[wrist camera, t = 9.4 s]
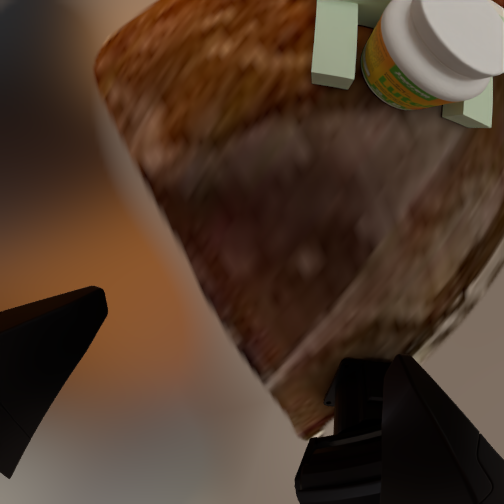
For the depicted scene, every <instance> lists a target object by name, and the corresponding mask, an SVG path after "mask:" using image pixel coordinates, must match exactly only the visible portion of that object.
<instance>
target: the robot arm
mask: <svg viewBox="0 0 504 504" xmlns="http://www.w3.org/2000/svg"><path fill="white" fill-rule="evenodd" d="M107 314H108V307H107V302H106V297H105V292H104V290H103V289H101V288H99V287H96V286H89V287H85V288H82V289H78V290H74V291H71V292H67V293H64V294H60V295H57V296H53V297H50V298H46V299H43V300H39V301H36V302H32V303H29V304H25V305H22V306H18V307H15V308H11V309H8V310H5V311H3V312H2V311H1V312H0V473H2V474H3V475H4V476H6V477H7V478H8V479H10V478H11V476H12V475H13V472H14V471H15V468H16V466H17V465H18V463H19V461H20V459H21V457H22V455H23V453H24V451H25V449H26V447H27V446H28V444H29V442H30V440H31V438H32V436H33V434H34V433H35V431H36V429H37V427H38V426H39V424H40V422H41V421H42V419H43V417H44V416H45V414H46V412H47V411H48V409H49V407H50V406H51V404H52V403H53V401H54V399H55V398H56V396H57V395H58V393H59V391H60V390H61V388H62V387H63V385H64V384H65V382H66V381H67V379H68V378H69V376H70V375H71V373H72V372H73V370H74V369H75V367H76V366H77V364H78V363H79V361H80V360H81V358H82V357H83V355H84V354H85V353H86V351H87V349H88V348H89V346H90V344H91V343H92V341H93V339H94V337H95V336H96V333H97V332H98V330H99V329H100V327H101V325H102V323H103V322H104V320H105V318H106V317H107ZM345 364H348V365H345ZM324 405H327V406H335V409H334V434H333V435H331V436H326V437H320V438H317V437H314V438H310V440H309V443H308V446H307V448H306V451H305V453H304V456H303V459H302V461H301V464H300V466H299V469H298V472H297V474H296V477H295V489H296V495H297V498H298V501H299V502H300V504H504V459H503V458H502V457H501V456H500V455H499V454H498V453H497V452H496V451H495V450H494V449H493V447H492V446H491V445H490V444H489V443H488V442H487V440H486V439H485V438H484V437H483V436H482V434H479V431H478V430H477V428H476V427H475V426H474V425H473V424H472V423H471V422H470V420H469V419H468V418H467V417H466V416H465V415H464V413H463V412H462V411H461V410H460V409H459V408H458V407H457V405H456V404H455V403H454V402H453V401H452V400H451V399H450V398H449V396H448V395H447V394H446V393H445V392H444V391H443V390H442V389H441V388H440V387H439V385H438V384H437V383H436V382H435V381H434V380H433V379H432V378H431V377H430V375H429V374H427V372H426V371H425V370H424V369H423V368H422V367H421V366H420V365H419V364H418V363H417V362H416V361H415V359H414V358H413V357H412V356H410V355H406V354H398V355H396V356H395V358H394V360H393V361H392V363H391V364H389V363H379V362H370V361H362V360H354V359H344V360H342V362H341V364H340V366H339V368H338V370H337V373H336V375H335V377H334V379H333V381H332V384H331V386H330V388H329V390H328V392H327V394H326V396H325V398H324Z"/></svg>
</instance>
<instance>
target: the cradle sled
mask: <svg viewBox="0 0 504 504" xmlns="http://www.w3.org/2000/svg"><path fill="white" fill-rule="evenodd" d="M391 1H392V0H317V11H316V24H315V37H314V48H313V59H312V70H311V75H312V84H318V85H324V86H330V87H336V88H341V89H346V90H348V89H349V87H350V85H351V84H352V82H353V81H354V77H355V64H356V49H357V27H358V25H363V26H367V27H372V28H375V26H376V25H377V23H378V21H379V19H380V17H381V15H382V14H383V12H384V10H385V8H386V7H387V5H388V4H389V3H390V2H391ZM499 16H500V15H499ZM500 17H501V19H502V20H503V22H504V17H502V16H500ZM492 103H493V78H492V77H491V78H490V81H489V83H488V85H487V87H486V88H485V90H484V91H483V92H482V93H481V94H480V95H478V96H476V97H474V98H472V99H469V100H465V101H461V102H455V103H449V104H444V105H443V113H442V117H443V118H446V119H448V120H451V121H453V122H456V123H458V124H461V125H463V126H465V127H467V128H491V123H492Z"/></svg>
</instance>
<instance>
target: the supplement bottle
mask: <svg viewBox="0 0 504 504" xmlns="http://www.w3.org/2000/svg"><path fill="white" fill-rule="evenodd" d="M361 69H362V73H363V76H364V79H365V81H366V83H367V84H368V86H369V88H370V89H371V90H372V91H373V93H374V94H375V95H376V96H377V97H379V98H380V99H381V100H382V101H384V102H385V103H387V104H389V105H391V106H393V107H395V108H398V109H402V110H419V109H424V108H429V107H434V106H439V105H444V104H449V103H455V102H461V101H465V100H469V99H472V98H474V97H476V96H478V95H480V94H481V93H482V92H483V91H484V90H485V88H486V87H487V85H488V83H489V81H490V78H491V77H492V76H496V75H500V74H502V73H504V22H503V20H502V19H501V17H500V16H499V14H498V13H497V11H496V10H495V9H494V8H493V6H492V5H491V4H490V3H489V2H488V1H487V0H392V1H391V2H390V3H389V4H388V5H387V7H386V8H385V10H384V12H383V14H382V15H381V17H380V19H379V21H378V23H377V25H376V26H375V28H374V30H373V32H372V34H371V36H370V37H369V39H368V41H367V43H366V45H365V47H364V49H363V52H362V55H361Z"/></svg>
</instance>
